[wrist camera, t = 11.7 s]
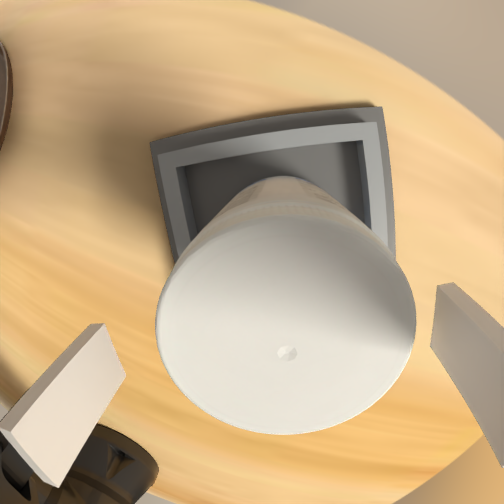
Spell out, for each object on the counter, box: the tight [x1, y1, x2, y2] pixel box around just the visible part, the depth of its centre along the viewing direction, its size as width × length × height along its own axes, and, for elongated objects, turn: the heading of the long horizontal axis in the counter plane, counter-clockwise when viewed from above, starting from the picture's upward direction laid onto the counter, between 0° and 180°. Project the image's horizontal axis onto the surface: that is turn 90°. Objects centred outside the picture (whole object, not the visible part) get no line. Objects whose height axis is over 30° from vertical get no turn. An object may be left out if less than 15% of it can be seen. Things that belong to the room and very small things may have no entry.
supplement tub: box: [155, 176, 416, 435], centre depth 17 cm, size 10×10×15 cm
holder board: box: [150, 107, 396, 264], centre depth 23 cm, size 18×18×3 cm
